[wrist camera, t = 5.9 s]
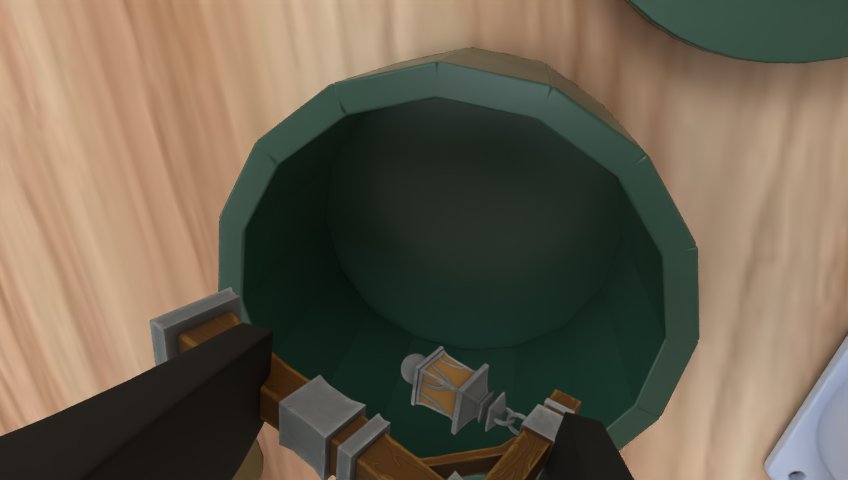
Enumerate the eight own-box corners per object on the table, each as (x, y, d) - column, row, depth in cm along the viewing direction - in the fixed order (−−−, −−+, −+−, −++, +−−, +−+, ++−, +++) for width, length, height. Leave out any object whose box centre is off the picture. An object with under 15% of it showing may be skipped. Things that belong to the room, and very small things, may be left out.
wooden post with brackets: (611, 470, 10) (509, 700, 6) (314, 312, 14) (149, 400, 10) (637, 397, 9) (538, 611, 6) (316, 251, 13) (138, 324, 9)
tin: (696, 93, 15) (802, 137, 9) (578, 389, 20) (599, 542, 14) (331, 17, 16) (219, 14, 10) (302, 314, 21) (215, 427, 15)
